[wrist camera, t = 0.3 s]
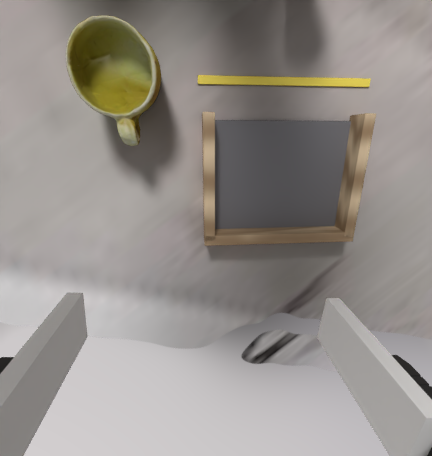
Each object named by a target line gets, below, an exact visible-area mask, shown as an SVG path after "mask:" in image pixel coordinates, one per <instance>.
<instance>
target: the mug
mask: <svg viewBox="0 0 432 456" xmlns="http://www.w3.org/2000/svg"><path fill="white" fill-rule="evenodd" d="M66 64H67V71H68V74H69V77H70V80H71V83H72V85H73V87H74V89H75V90H76V92H77V94H78V95H79V96H80V98H81V99H82V100H83V101H84V102H85V103H86V104H87V105H88V106H90V107H91V108H92V109H93V110H95V111H97V112H99V113H101V114H104V115H107V116H110V117H112V118H114V119H115V120H116V122H117V128H118V132H119V135H120V137H121V139H122V141H123V142H124V143H125V144H127V145H130V146H135V145H138V144H139V142H140V127H139V117H140V115H141V114H142V113H143V112H144V111H146V110H147V109H149V107H150V106H151V105H152V104H153V103H154V101H155V100H156V98H157V96H158V93H159V89H160V84H161V71H160V65H159V62H158V59H157V57H156V55H155V53H154V50H153V49H152V47H151V46H150V45H149V43H148V42H147V41H146V40H145V38H144V37H143V36H142V35H141V34H140V33H139V32H138V31H137V30H136V29H135V28H134V27H133V26H131V25H130V24H129V23H127V22H126V21H124V20H121V19H119V18H117V17H114V16H106V15H103V16H91V17H89V18H87V19H85V20H84V21H82V22H80V23H79V24H78V25H77V26H76V27H75V28H74V30H73V31H72V33H71V35H70V37H69V39H68V43H67V48H66Z"/></svg>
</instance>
